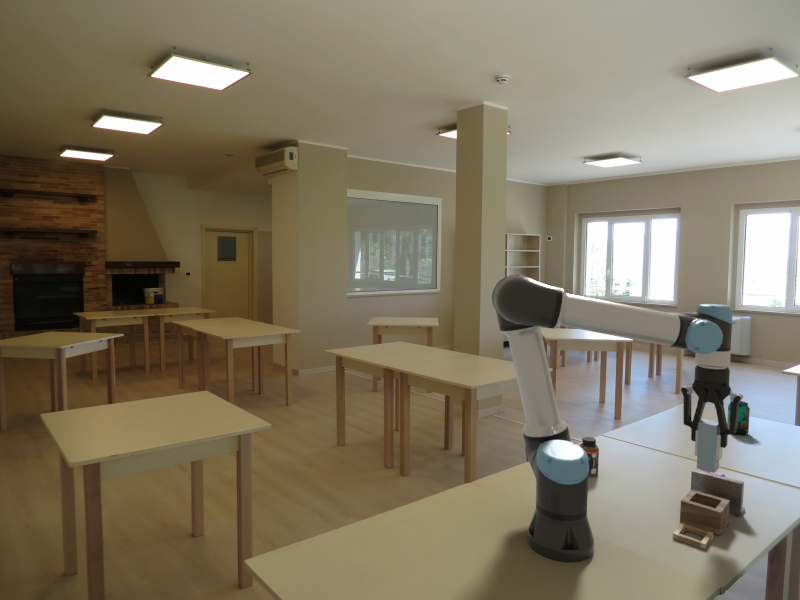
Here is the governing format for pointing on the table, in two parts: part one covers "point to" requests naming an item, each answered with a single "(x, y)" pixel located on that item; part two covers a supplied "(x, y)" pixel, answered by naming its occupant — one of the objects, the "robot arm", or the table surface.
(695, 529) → the stand
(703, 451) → the light blue square peg
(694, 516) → the brown wooden box
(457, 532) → the table surface
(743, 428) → the beverage can
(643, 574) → the table surface
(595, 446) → the supplement bottle
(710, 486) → the backstop
